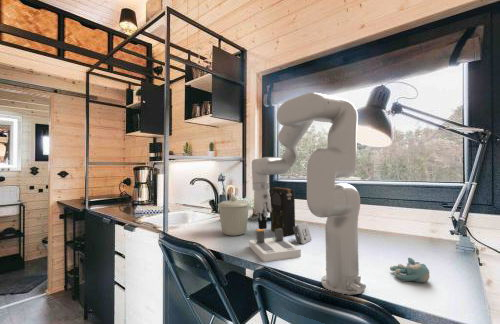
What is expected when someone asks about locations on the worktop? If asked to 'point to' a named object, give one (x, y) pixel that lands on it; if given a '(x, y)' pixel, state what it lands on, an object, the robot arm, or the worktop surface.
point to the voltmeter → (282, 210)
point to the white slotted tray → (274, 249)
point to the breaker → (279, 234)
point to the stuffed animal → (412, 271)
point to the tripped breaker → (260, 235)
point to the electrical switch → (302, 233)
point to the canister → (233, 216)
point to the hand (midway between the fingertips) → (262, 228)
